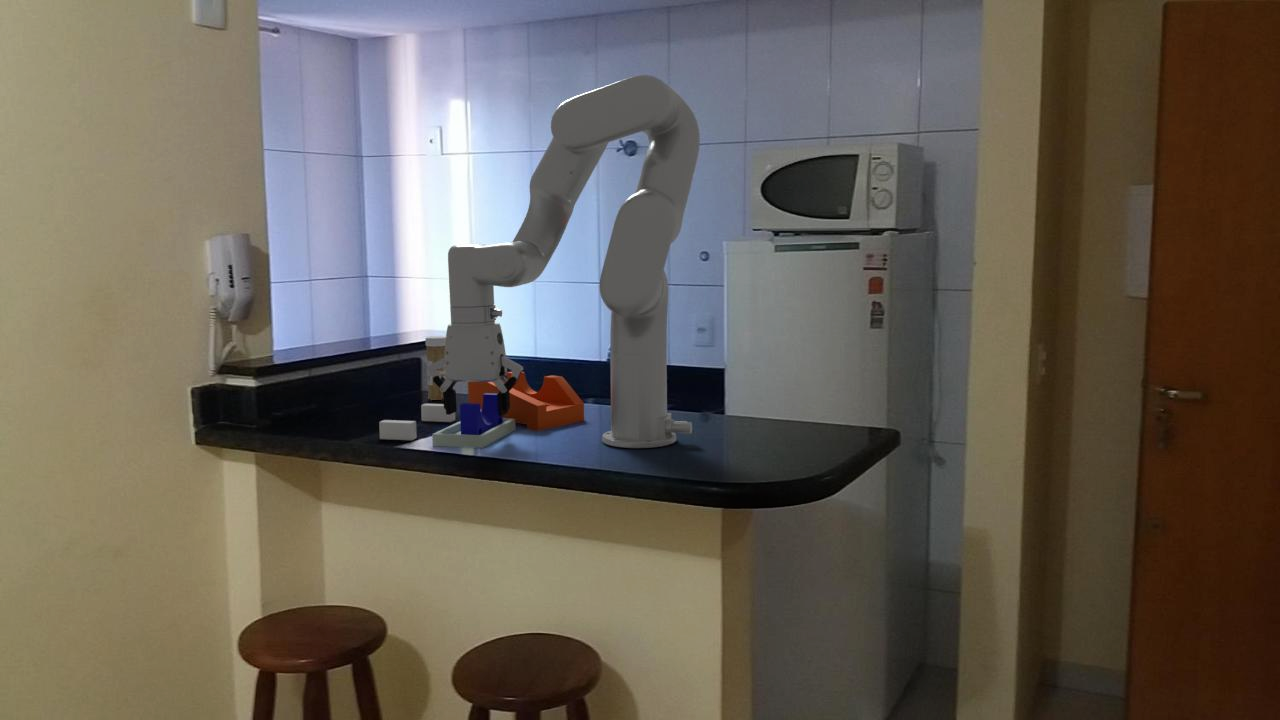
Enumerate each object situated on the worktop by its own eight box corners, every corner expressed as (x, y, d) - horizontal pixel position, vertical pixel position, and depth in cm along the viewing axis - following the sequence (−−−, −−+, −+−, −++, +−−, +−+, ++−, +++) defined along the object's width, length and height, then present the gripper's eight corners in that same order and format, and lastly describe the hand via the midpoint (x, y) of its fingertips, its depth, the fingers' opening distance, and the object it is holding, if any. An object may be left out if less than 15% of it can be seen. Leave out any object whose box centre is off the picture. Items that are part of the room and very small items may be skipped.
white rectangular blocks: (455, 420, 203) (454, 404, 202) (411, 440, 184) (410, 423, 184) (426, 418, 204) (425, 403, 204) (379, 438, 186) (379, 422, 185)
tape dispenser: (469, 422, 203) (467, 379, 201) (516, 412, 212) (515, 371, 211) (538, 433, 192) (537, 387, 190) (584, 422, 201) (583, 379, 200)
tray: (515, 429, 193) (515, 418, 193) (482, 447, 178) (482, 436, 177) (469, 427, 195) (468, 416, 195) (432, 445, 180) (432, 434, 179)
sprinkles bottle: (447, 400, 224) (445, 337, 222) (425, 401, 224) (423, 337, 222) (450, 397, 229) (448, 335, 227) (429, 397, 228) (427, 335, 227)
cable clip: (479, 425, 193) (478, 392, 192) (502, 426, 192) (502, 393, 191) (452, 438, 181) (451, 404, 180) (477, 439, 180) (476, 405, 179)
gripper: (527, 314, 185) (531, 411, 187) (435, 314, 189) (439, 409, 191) (512, 318, 178) (516, 418, 180) (417, 318, 182) (422, 416, 184)
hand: (477, 413), depth 186 cm, fingers open, 9 cm apart
